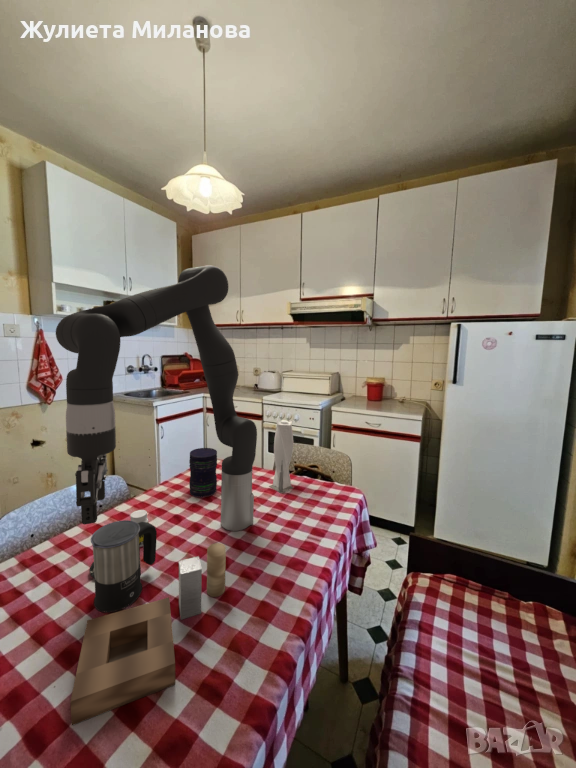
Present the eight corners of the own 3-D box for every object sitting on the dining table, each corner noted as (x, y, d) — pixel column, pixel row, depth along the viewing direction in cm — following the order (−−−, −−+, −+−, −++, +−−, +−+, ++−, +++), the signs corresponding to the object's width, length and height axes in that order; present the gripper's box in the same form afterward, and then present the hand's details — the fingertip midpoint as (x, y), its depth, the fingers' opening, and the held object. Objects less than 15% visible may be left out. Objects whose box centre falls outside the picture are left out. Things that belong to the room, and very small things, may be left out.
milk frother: (122, 618, 62) (120, 549, 60) (54, 603, 64) (50, 537, 62) (163, 568, 76) (162, 511, 74) (106, 557, 78) (103, 502, 76)
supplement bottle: (141, 549, 82) (140, 519, 81) (125, 546, 83) (124, 517, 82) (152, 538, 87) (152, 510, 85) (137, 535, 87) (136, 507, 86)
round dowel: (222, 581, 72) (223, 541, 71) (226, 593, 69) (227, 552, 67) (205, 585, 71) (205, 545, 69) (208, 599, 67) (209, 556, 66)
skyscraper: (266, 485, 122) (268, 416, 118) (281, 480, 127) (284, 413, 124) (280, 493, 116) (283, 421, 112) (296, 487, 121) (299, 418, 118)
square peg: (198, 598, 67) (198, 556, 66) (201, 613, 64) (201, 568, 62) (178, 604, 65) (178, 561, 64) (180, 619, 62) (180, 574, 61)
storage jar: (213, 498, 110) (213, 457, 108) (185, 496, 110) (185, 456, 108) (219, 485, 120) (220, 448, 118) (194, 484, 120) (194, 447, 118)
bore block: (169, 614, 63) (169, 597, 62) (175, 684, 50) (175, 663, 50) (88, 639, 57) (87, 620, 56) (71, 725, 44) (70, 701, 44)
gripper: (109, 436, 51) (112, 528, 53) (119, 416, 64) (121, 490, 66) (54, 439, 48) (59, 536, 50) (76, 418, 61) (79, 495, 63)
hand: (94, 510), depth 58 cm, fingers open, 8 cm apart
